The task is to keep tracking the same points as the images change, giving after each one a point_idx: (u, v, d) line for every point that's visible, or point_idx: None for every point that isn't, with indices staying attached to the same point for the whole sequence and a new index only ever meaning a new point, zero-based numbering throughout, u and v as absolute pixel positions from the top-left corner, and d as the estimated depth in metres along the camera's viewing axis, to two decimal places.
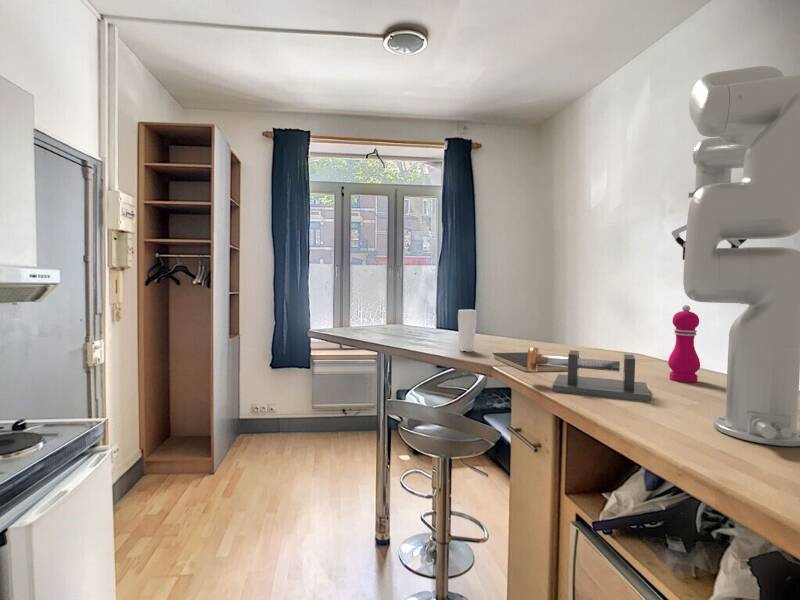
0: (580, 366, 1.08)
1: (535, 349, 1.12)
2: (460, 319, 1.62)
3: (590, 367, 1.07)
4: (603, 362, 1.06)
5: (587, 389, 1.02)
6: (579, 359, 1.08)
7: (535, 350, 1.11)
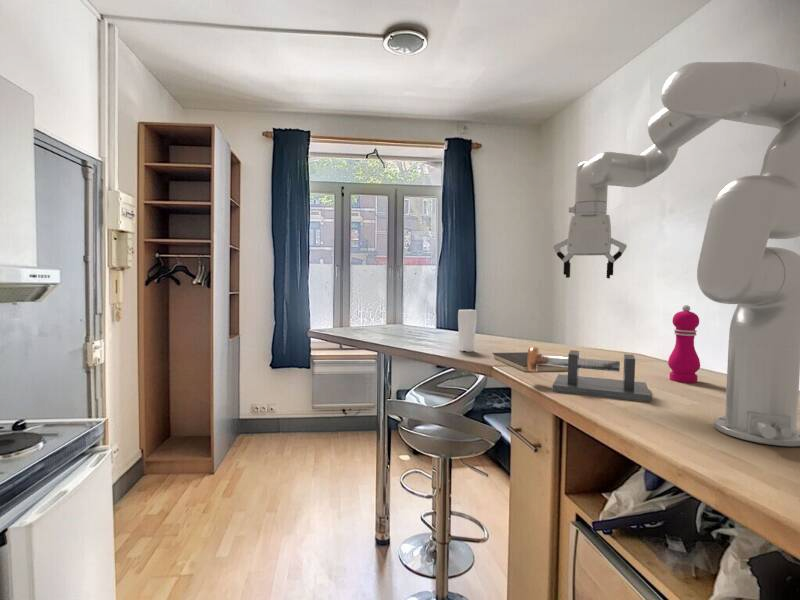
0: (580, 366, 1.08)
1: (535, 349, 1.12)
2: (460, 319, 1.62)
3: (590, 367, 1.07)
4: (603, 362, 1.06)
5: (587, 389, 1.02)
6: (579, 359, 1.08)
7: (535, 350, 1.11)
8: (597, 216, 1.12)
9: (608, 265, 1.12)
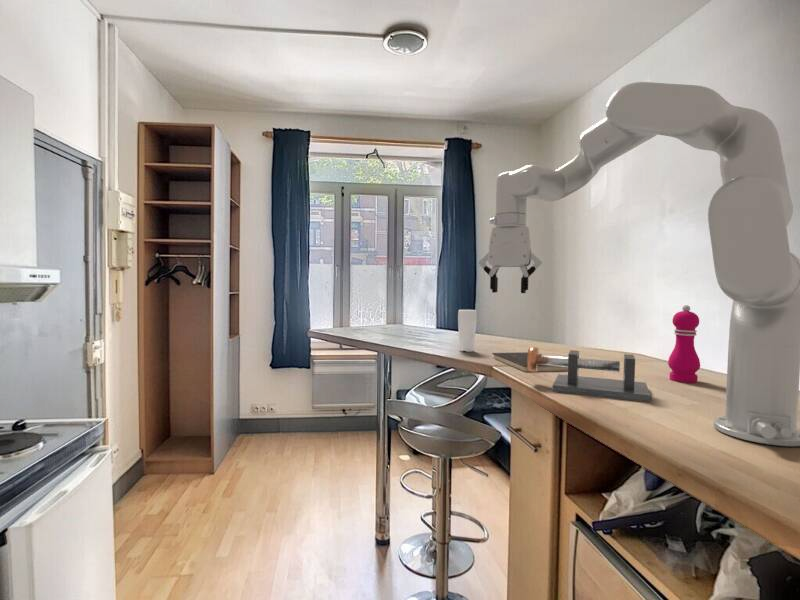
0: (580, 366, 1.08)
1: (535, 349, 1.12)
2: (460, 319, 1.62)
3: (590, 367, 1.07)
4: (603, 362, 1.06)
5: (587, 389, 1.02)
6: (579, 359, 1.08)
7: (535, 350, 1.11)
8: (516, 228, 1.11)
9: (522, 280, 1.12)
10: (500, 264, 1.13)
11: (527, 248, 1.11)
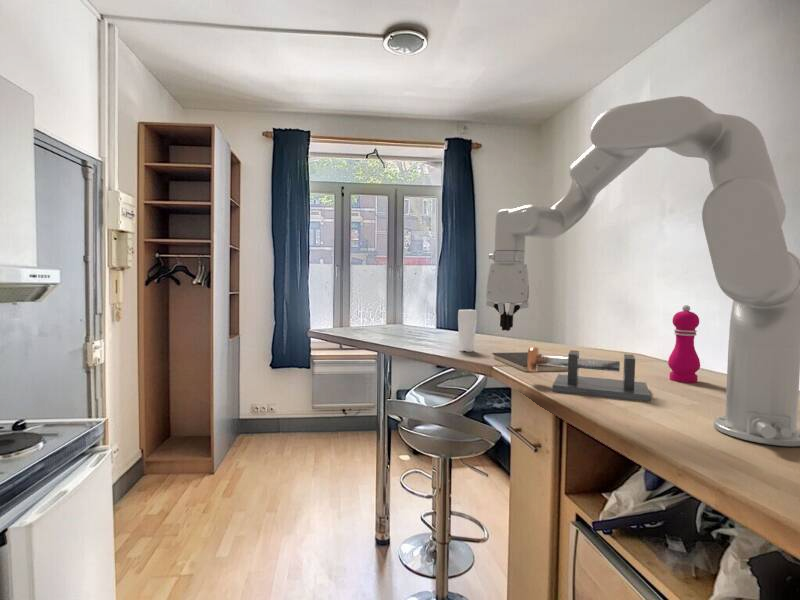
0: (580, 366, 1.08)
1: (535, 349, 1.12)
2: (460, 319, 1.62)
3: (590, 367, 1.07)
4: (603, 362, 1.06)
5: (587, 389, 1.02)
6: (579, 359, 1.08)
7: (535, 350, 1.11)
8: (514, 265, 1.12)
9: (507, 318, 1.14)
10: (498, 300, 1.14)
11: (525, 286, 1.11)
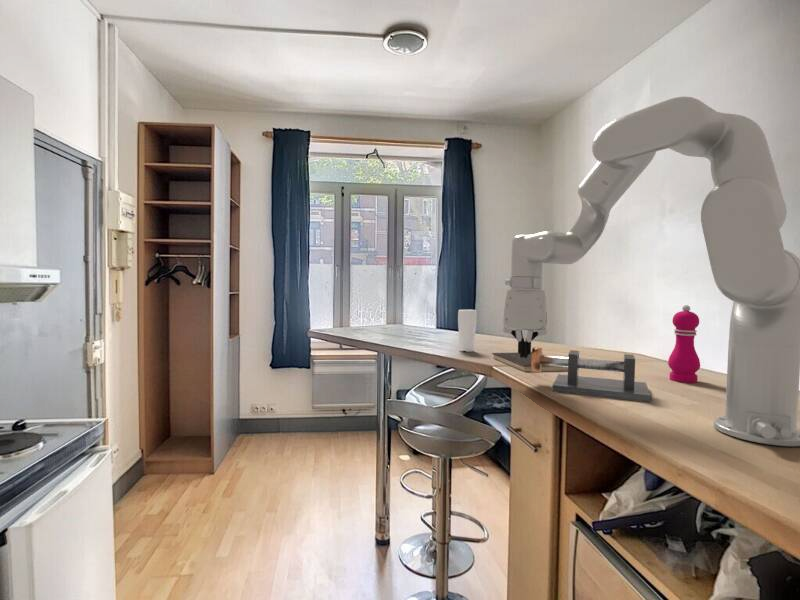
0: (584, 366, 1.07)
1: (539, 349, 1.11)
2: (460, 319, 1.62)
3: (594, 367, 1.06)
4: (607, 362, 1.05)
5: (587, 389, 1.02)
6: (583, 359, 1.08)
7: (539, 350, 1.11)
8: (532, 292, 1.10)
9: (525, 345, 1.12)
10: (516, 327, 1.12)
11: (543, 313, 1.10)
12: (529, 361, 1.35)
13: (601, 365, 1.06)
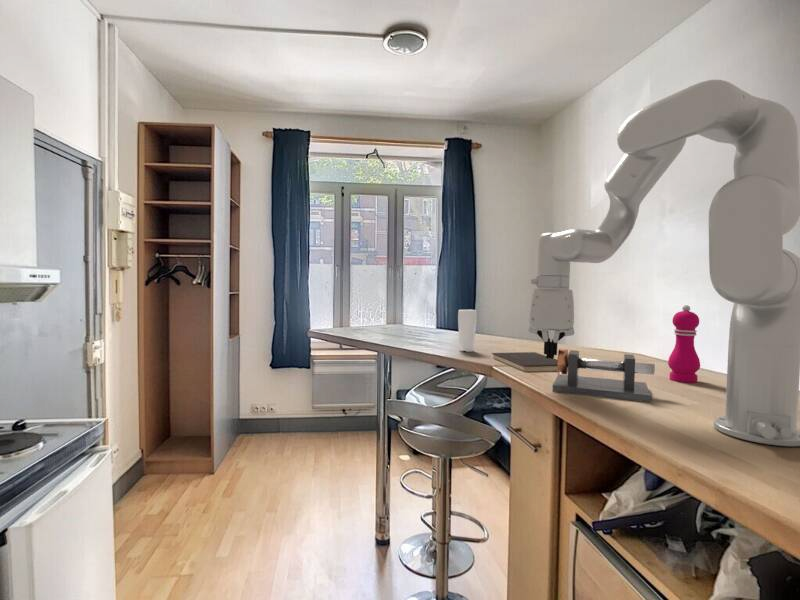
0: (613, 369, 1.05)
1: (565, 351, 1.09)
2: (460, 319, 1.62)
3: (623, 370, 1.04)
4: (637, 364, 1.03)
5: (587, 389, 1.02)
6: (612, 362, 1.05)
7: (565, 352, 1.08)
8: (559, 291, 1.08)
9: (551, 345, 1.10)
10: (542, 327, 1.09)
11: (571, 313, 1.07)
12: (529, 361, 1.35)
13: None
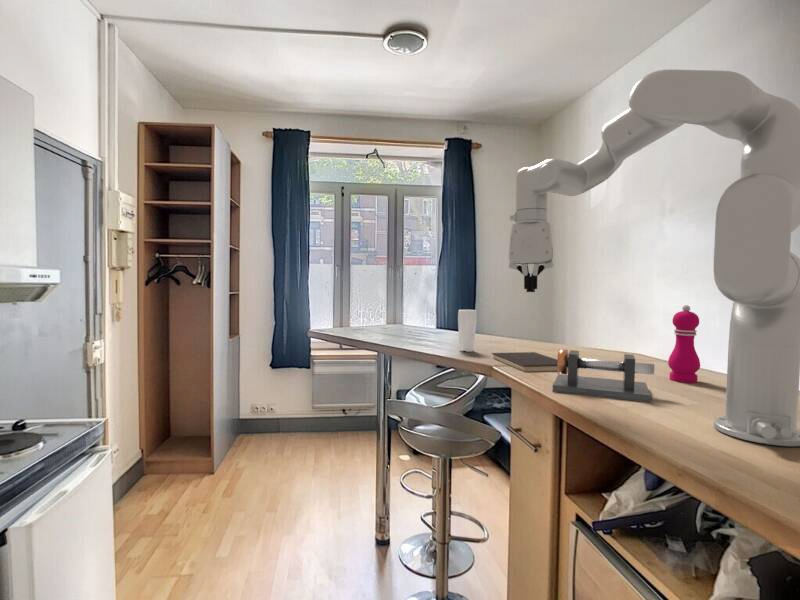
0: (612, 369, 1.05)
1: (565, 351, 1.09)
2: (460, 319, 1.62)
3: (623, 370, 1.04)
4: (637, 364, 1.03)
5: (587, 389, 1.02)
6: (611, 362, 1.05)
7: (565, 352, 1.08)
8: (537, 223, 1.09)
9: (531, 279, 1.11)
10: (522, 261, 1.11)
11: (549, 244, 1.08)
12: (529, 361, 1.35)
13: None
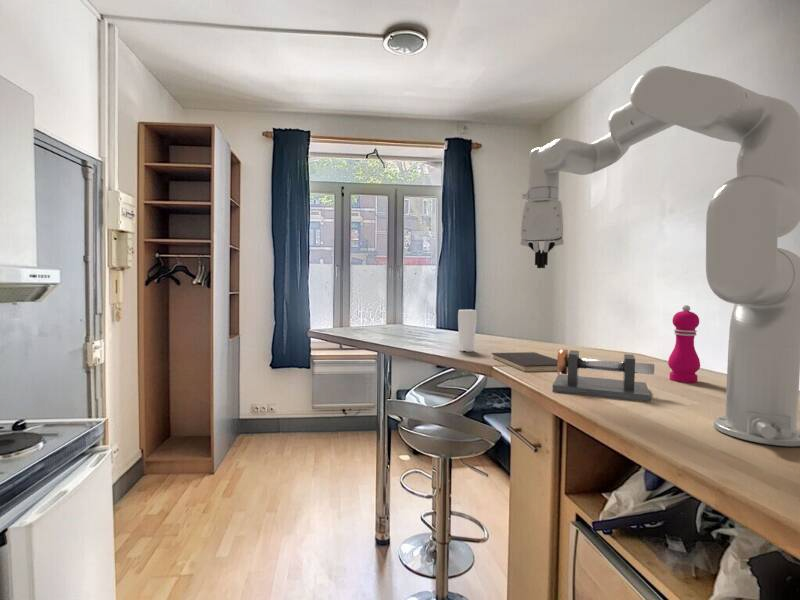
0: (612, 369, 1.05)
1: (565, 351, 1.09)
2: (460, 319, 1.62)
3: (623, 370, 1.04)
4: (637, 364, 1.03)
5: (587, 389, 1.02)
6: (611, 362, 1.05)
7: (565, 352, 1.08)
8: (549, 202, 1.14)
9: (542, 255, 1.16)
10: (533, 238, 1.15)
11: (560, 221, 1.13)
12: (529, 361, 1.35)
13: None
